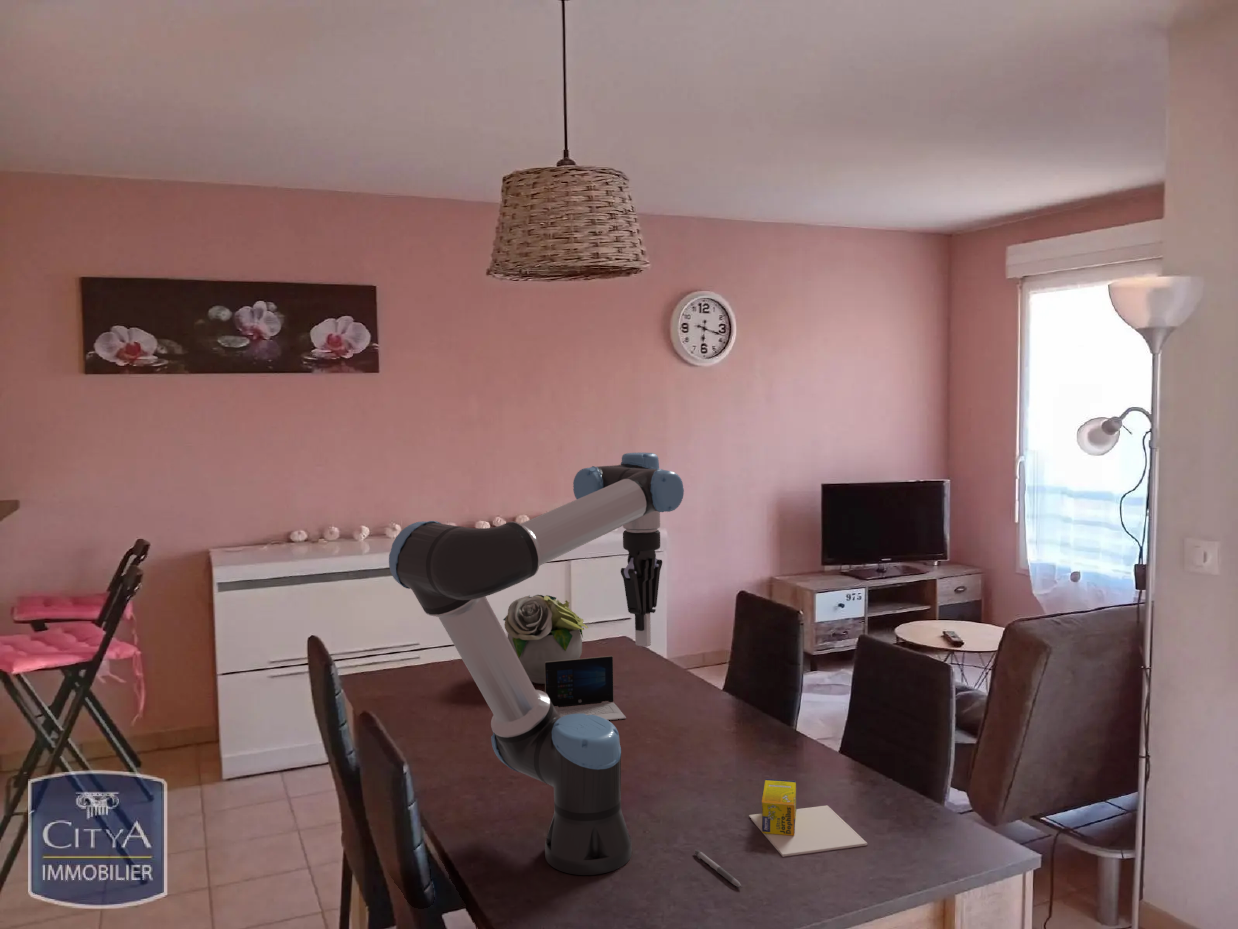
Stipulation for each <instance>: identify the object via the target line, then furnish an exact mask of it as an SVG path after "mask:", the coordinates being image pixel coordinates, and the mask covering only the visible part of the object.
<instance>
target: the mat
mask: <svg viewBox="0 0 1238 929" xmlns="http://www.w3.org/2000/svg"><path fill="white" fill-rule="evenodd" d="M748 818H751V819H750V820H751V821H752V822H753V823H754V825H755V826H756V827H757V828H758V829H759V830H760V831H761V833H762V813H756V814H755V813H753V814H749V815H748ZM762 834H763V836H765V838H766V839H767V840H768V841H769V842H770V844H771V845H772V846H773V847H774V848H775V850H776V851H777V852H778V853H779V854H780V855H781V857H782V858H783V857H791V856H797V855H798V856H799V855H805V854H813V853H819V852H821V853H822V852H826V851H829V852H830V851H834V850H842V849H849V848H856V847H857V848H858V847H864V846H868V842H867V841H866V840H864V838H862V836H860V834H858V833H857V832H856V831H855V830H854V829H853V828H852V827H851V826H850V825H849V824H848V823H847V822H845V821H844V820H843V818H841V817H840V816H839V815H838V814H837V813H836V812H835V811H834V810H833V809H832V808H831V807H830V806H829V805H818V806H813V807H812V806H811V807H805V808H804V807H803V808H796V820H795V834H794V836H791V835H779V834H766V833H762Z"/></svg>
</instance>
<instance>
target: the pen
mask: <svg viewBox="0 0 1238 929" xmlns="http://www.w3.org/2000/svg"><path fill="white" fill-rule="evenodd" d="M694 853H695V855H696V857H697V858H698V860H702V861H703V862H704V863H706V864H707V865H708V866H709V867H710V868H712V869H713V870H715V871H716V872H717V873H718V874H719V875H720V876H722V877H723V878H724V879H725V880H726V881H728V882H730V884H732V885H733V886H736V887H737V888H742V884H741V883H740V881H739V880H738V879H736V877H734V876H733V875H732V874H731V873H729V872H728V871H727V870H725V868H723V867H722V866H720V865H719V864H718V863H717V862H715V861H714V860H712V859H711V858H710V857H709V856H707V855H706V854H705V853H704V852H702V851H701V850H699V849H694Z"/></svg>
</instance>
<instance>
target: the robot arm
mask: <svg viewBox="0 0 1238 929" xmlns="http://www.w3.org/2000/svg"><path fill="white" fill-rule="evenodd" d="M572 483H573V484H572V485H573V486H572V487H573V488H572V489H573V495H574V497H575V500H572V501H571V502H567V503H565V504H563V505H560V506H559V507H556V508H554V509H551V510H549V511H546V512H545V513H543V514H540V515H538V516H535V517H533V518H531V519H528V520H526V521H524V522H521V523H520V522H518V521H508V522H506V523H503V524H500V525H498V526H494V527H493V526H492V527H485V528H484V527H483V528H480V527H479V528H477V527H476V528H474V527H466V526H460V525H451V524H444V523H441V522H440V521H437V520H428V521H417V522H413V523H411V524H409V525H407V526H406V527H404V528H403V529H402V530H401V531H400V532H399V533H398V534H397V535H396V536H395V539H394V540H393V542H392V544H391V549H390V552H389V555H388V566H389V567H388V568H389V572H390V574H391V576H392V577H393V579H394V580H395V581H396V582H397V583H398V584H399V585H400V586H401V587H403V588H405V589H407V590H411V591H412V592H413V594H414V596H415V598H416V599H417V601H418V603H419V605H420V606H421V608H422V610H423V611H424V613H425V614H426V615H428V616H433V617H437V618H438V619H439V621H440V622H441V625H443V628H444V630H445V632H446V634H447V635H448V637H449V638H450V641H451V642H452V643H453V645H454V647H455V650H456V651H457V652H458V654H459V655H460V658H461V660H462V661H463V664H464V665H465V666H466V668H467V670H468V672H469V673H470V675H471V677H472V679H473V681H474V683H475V684H476V686H477V687H478V690H479V691H480V693H481V695H482V697H483V698H484V700H485V702H486V704H487V706H488V707H489V709H490V710H491V712H492V717H491V721H490V727H491V731H492V735H491V736H490V740H491V746H492V749H493V753H494V754H495V755H496V757H497V759H498V760H499V761H500V762H501V763H503V764H504V765H505V766H507V767H508V768H509V769H511V770H513V771H515V772H517V773H521V774H524V775H525V776H527V777H530V778H532V779H535V780H537V781H539V782H541V783H544V784H546V785H549V786H550V787H552V788H553V800H554V801H553V802H554V803H553V804H554V809H553V810H554V813H553V816H552V820H551V822H550V825H549V828H548V832H547V836H546V838H545V843H544V856H545V860H546V862H547V863H548V865H550V866H551V867H552V868H554V869H556V870H557V871H559V872H563V873H565V874H570V875H577V876H596V875H602V874H605V873H606V874H607V873H610V872H613V871H616V870H619V869H620V868H622V867H623V866H625V865H626V864H627V863H628V862H629V861H630V859H631V857H632V854H633V853H632V852H633V851H632V847H633V846H632V838H631V835H630V834H629V830H628V827H627V824H626V820H625V817H624V815H623V812H622V800H621V798H622V797H621V796H622V794H621V793H622V790H621V789H622V788H621V785H622V775H621V774H622V768H621V767H622V762H621V761H622V748H621V745H620V744H621V743H620V742H621V741H620V735H619V731H618V729H617V727H616V726H615V725H614V723H612V722H611V720H610V721H608V720H606V719H604V718H602V717H599V716H596V715H585V714H570V715H566V716H563V717H561V716H560V715H559V714H558V713H557V711H556V710H555V708H554V706H553V704H552V702H551V700H550V698H549V697H548V695H547V694H546V693H545V691H542V690H540V689H535V687H534V685H533V682H532V681H531V680H530V678H529V676H528V675H527V673H526V672H525V670H524V668H523V666H522V664H521V662H520V660H519V658H518V657H517V655H516V653H515V651H514V649H513V647H512V645H511V643H510V642H509V640H508V638H507V637H508V635H507V633H506V632H505V631H504V628H503V626H502V625H501V623H500V621H499V619H498V617H497V616H496V613H495V612H494V610H493V607H491V604H490V602H489V601H488V600H489V599H487V597H488V596H490V595H494V594H497V593H499V592H501V591H504V590H506V589H508V588H511V587H513V586H515V585H518V584H520V583H521V582H524V581H526V580H528V579H529V578H530V579H531V578H532V577H534V576H535V575H537V573H538V571H539V569H540V566H543V565H545V564H546V563H548V562H550V561H553V560H555V559H557V558H559V557H561V556H563V555H564V554H567V553H570V552H571V551H573V550H576V549H577V548H580V547H581V546H583V545H586V544H588V543H590V542H592V541H594V540H596V539H598V538H601V537H602V536H604V535H606V534H609V533H610V532H612V531H615V530H616V529H619V528H621V527H622V528H623V529H624V531H623V532H622V547H623V548H622V549H624V550H626V551H627V552H628V556H627V560H626V561H627V566H626V567H621V568H620V575H621V577H622V580H623V586H624V592H625V599H626V604H627V612H628V613H629V614H631V615H632V614H633V615H634V628H635V629H634V630H635V631H634V632H635V636H634V637H635V638H634V639H635V646H639V647H646V648H647V647H649V646H651V643H652V641H651V639H652V637H651V636H652V634H651V633H652V632H651V630H652V628H651V614H655V613H656V610H657V609H656V607H657V604H658V595H659V587H660V585H659V584H660V576H661V575H660V574H661V569H662V567H663V566H662V565H663V560H662V559H658V558H657V553H656V551H657V550H660V549H661V532H660V530H659V529H660V528H661V513H664V512H665V513H666V512H667V513H668V512H669V513H670V512H673V511H675V510H676V509H678V507H679V506H680V505H681V503H682V501H683V500H684V494H685V493H684V492H685V489H684V483H683V480H682V478H681V477H680V475H679V474H677V473H676V472H675V471H672V470H665V469H663V468H660V462H659V456H658V455H657V454H656V453H653V452H627V453H624V454H623V455H621V461H620V464H618V465H617V464H615V465H603V466H593V465H592V466H590V467H585V468H581V469H580V470H578V471H577V472H576V474H575V476H574V478H573V482H572Z"/></svg>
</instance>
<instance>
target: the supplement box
mask: <svg viewBox="0 0 1238 929" xmlns="http://www.w3.org/2000/svg"><path fill="white" fill-rule="evenodd" d="M760 802H761V803H760V804H761V814H762V832H761V833H762V834H763V833H766V834H779V835H791V836H794V834H795V820H796V809H797V781H796V780H786V779H785V780H784V779H773V778H765V779H764V786H763V792H762V797H761V801H760Z"/></svg>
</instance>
